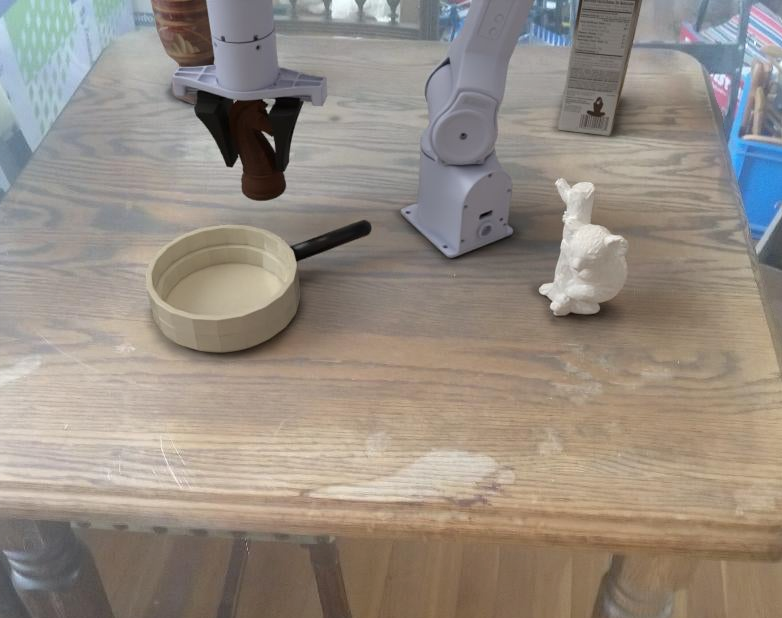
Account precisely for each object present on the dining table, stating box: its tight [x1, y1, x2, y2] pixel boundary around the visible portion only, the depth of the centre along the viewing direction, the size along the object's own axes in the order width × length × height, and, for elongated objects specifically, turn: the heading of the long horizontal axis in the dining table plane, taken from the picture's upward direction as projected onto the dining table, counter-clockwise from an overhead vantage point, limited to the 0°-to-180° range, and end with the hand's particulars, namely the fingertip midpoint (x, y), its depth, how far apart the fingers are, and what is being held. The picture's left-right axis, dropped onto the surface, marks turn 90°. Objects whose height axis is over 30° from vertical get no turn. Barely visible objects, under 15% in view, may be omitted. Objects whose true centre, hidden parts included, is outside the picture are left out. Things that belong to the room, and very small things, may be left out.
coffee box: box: [557, 0, 643, 137], centre depth 98 cm, size 9×6×16 cm
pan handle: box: [289, 219, 373, 263], centre depth 84 cm, size 10×2×2 cm, turn 118°
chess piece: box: [229, 99, 287, 202], centre depth 85 cm, size 5×5×10 cm
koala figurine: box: [538, 177, 630, 317], centre depth 77 cm, size 8×7×12 cm
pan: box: [144, 223, 301, 354], centre depth 82 cm, size 14×14×4 cm
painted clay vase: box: [150, 0, 215, 106], centre depth 106 cm, size 12×9×20 cm
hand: (258, 164), depth 87 cm, fingers closed on chess piece, 5 cm apart
